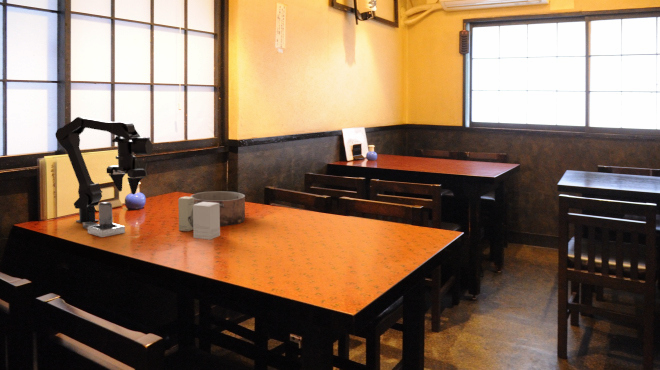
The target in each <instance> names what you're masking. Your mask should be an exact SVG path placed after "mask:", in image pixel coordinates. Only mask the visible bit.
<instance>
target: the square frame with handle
mask: <svg viewBox="0 0 660 370" xmlns="http://www.w3.org/2000/svg"><path fill="white" fill-rule="evenodd" d="M82 228H83V229H85V230H87V234H90V235H93V236H97V237H100V238H104V237H111V236H115V235H120V234H125V233H126V231H125V230H126V226H125V225H121V224H118V223H114V222H113V228H108V229H100V226H99V223H97V222H90V221H87V222H83V223H82Z"/></svg>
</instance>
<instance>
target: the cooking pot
mask: <svg viewBox="0 0 660 370" xmlns="http://www.w3.org/2000/svg"><path fill="white" fill-rule="evenodd" d="M190 197H194V204H197V203H200V202H213V203H219V206H220V227H227V226H229V227H230V226H234V225H239V224H241V223H243V222H244V221H245V220H246V195H245V194H243V193H240V192H237V191H229V190H227V191H226V190H225V191H203V192H202V191H201V192H196V193H194V194H191V195H190Z"/></svg>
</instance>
